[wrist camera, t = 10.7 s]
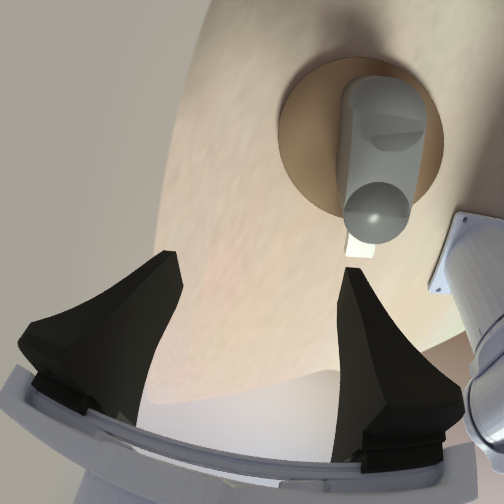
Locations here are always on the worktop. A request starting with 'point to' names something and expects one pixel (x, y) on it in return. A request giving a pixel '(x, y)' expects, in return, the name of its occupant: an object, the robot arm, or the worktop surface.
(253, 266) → the worktop surface
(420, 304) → the worktop surface
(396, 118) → the grey connector plug
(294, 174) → the walnut coaster
